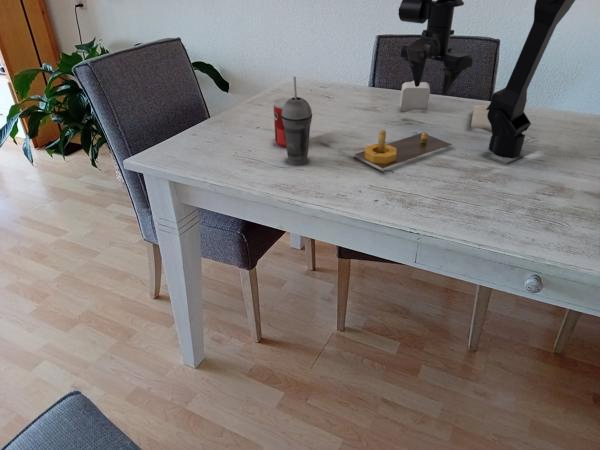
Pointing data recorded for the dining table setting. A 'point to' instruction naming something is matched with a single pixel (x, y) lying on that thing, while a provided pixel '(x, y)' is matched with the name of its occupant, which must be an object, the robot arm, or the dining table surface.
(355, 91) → the dining table surface
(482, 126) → the washcloth
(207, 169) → the dining table surface
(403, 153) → the peg rack
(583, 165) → the dining table surface
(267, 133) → the dining table surface
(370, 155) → the ring
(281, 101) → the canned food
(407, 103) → the grey block
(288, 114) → the beverage cup
